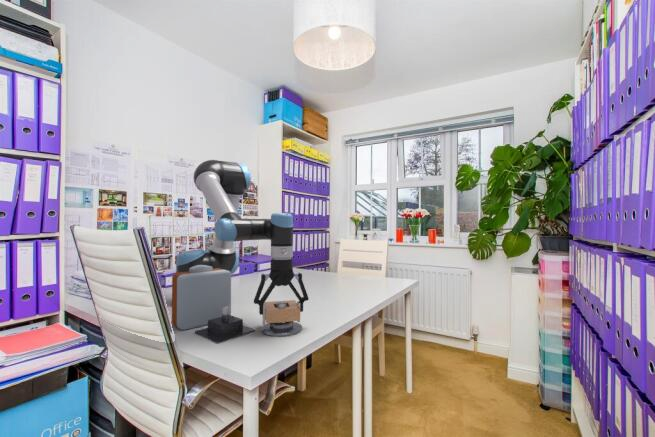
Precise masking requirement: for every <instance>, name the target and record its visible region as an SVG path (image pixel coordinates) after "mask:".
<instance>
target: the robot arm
mask: <svg viewBox="0 0 655 437" xmlns="http://www.w3.org/2000/svg"><path fill="white" fill-rule="evenodd" d="M193 182H194V185H195V187H196V189H198V191H199V192H201V193H202V194H203V197H204V199H205V201H206V203H207V204H208V206H209V208H210V210H211V212H212V214H213V216H214V218H215V220H216V222H215V224H214V241H213V244H212V245H211V246H210V247H209V251H207V252H206V251H205V249H204V248H203V249H202V248H201V249H192V250H185V251H182V252H180V253H179V254H177V255H176V260H175V262H176V263H175V268H176V269H175V273H179V272H189V268H191V267H193V266H196V265H207V266H211V267H212V269H216V268H220V269H224V270H228V271H230V273H231V275H234V274H235V273H236V272H237V270H238V268H239V265H240V264H239V263H240V259H239V257H240V256H239V253H238V251H237V250H236V248H235V247H234V242H238V241H260V240H261V241H262V240H264V241H265V240H267V241H270V258H271V259H270V270H269V273H261V275H260V282H259V285H258V288H257V291H256V292H255V293H256V294H255V296H254V298H253V303H254V304H255V305H258V309H259V310H258V313H259V315H262V326H263V325H265V324H266V320H265V303H264V302H267V299H268V298H269V296H270V295H271V293H272V292H273V289H275V288H276V286H277V287H281V286H283V287H286V286H289V288H290V290H291V291H292V292H293V293H294V295H295V296H296V299H298V301H297V300H296V302H297V304H298V306H299V307H300V313H302V312H304V302H307V301H309V300H310V298H309V295H308V293H307V289H306V288H305V287H306V286H305V284H304V281H303V273H301V272H294V259H293V257H294V250H293V249H294V246H293V245H294V217H293V214H292V213H289V212H288V213H286V212H279V213H278V212H274V213H271V215H270V218H241V216H240V214H239V213H238V212H239V205H240V199H241V197H242V196H244V195H245V191H247V190H249V189H250V187H251V183H252V176H251V172H250V169H249V167H248V166H247V165H246V164H244V163H241V162H234V161H225V160H217V159H208V160H206V161H203V162H201V163H200V164H199V165H197V166H196V168H195V171H194V172H193ZM294 277H295V279H296V280H297V282H298V284H299V288H300V290H301V294H302V296H301V295H300V293H299V292H298V290H297V288H296V287H295V285H294V283H292V280H293V279H294ZM269 278H270V280H271V282H270V284H269V286H268V287H267V289H266V290H265V292H264V294H263V295H262V296H261V294H262V292H263V289H264V286H265V284H266V281H268V279H269ZM260 297H261V298H260ZM297 323H301V320H300V321H297Z"/></svg>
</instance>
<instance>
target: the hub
mask: <svg viewBox="0 0 655 437" xmlns="http://www.w3.org/2000/svg"><path fill="white" fill-rule="evenodd" d="M279 301H280V300H279ZM285 301H286V300H281V301H280V302H277V307H286V302H285ZM302 330H303V326H302V324H301V323H300V322H298V321H290V322H277V323H265V325H263V324H262V326H261V327H260V332H261V334H263V335H265V336H269V337H279V338H280V337H290V336H294V335H297V334H298V333H300V332H302Z"/></svg>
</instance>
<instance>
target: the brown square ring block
mask: <svg viewBox="0 0 655 437" xmlns="http://www.w3.org/2000/svg"><path fill="white" fill-rule="evenodd" d="M284 301H285V302H286V307H277V302H280V300H278V301H276V300H275V301H265V302H264V303H265V324H267V323H277V322H290V321H293V322H298V321H300V322H301V312H300V307H299V306H298V304H297V300H295V299H293V300H292V299H291V300H284Z"/></svg>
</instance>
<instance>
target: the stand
mask: <svg viewBox="0 0 655 437" xmlns="http://www.w3.org/2000/svg"><path fill="white" fill-rule="evenodd" d="M256 331H257V330H256V329H255V328H253V327H250V326H247V325H245V324H244V320H243V318H240V317H237V316H234V315H232V314H231V315H229V305H224V306H222V317H219V318H215V319H211V320H208V325H207V327H205V328H202V329H198V330H194V334H196V335H199V336H201V337H202V338H205V339H207V340H209V341H211V342H213V343H215V344H220V343H224V342H227V341H230V340H233V339H236V338H240V337H242V336H245V335H249V334H251V333H255V332H256Z"/></svg>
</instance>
